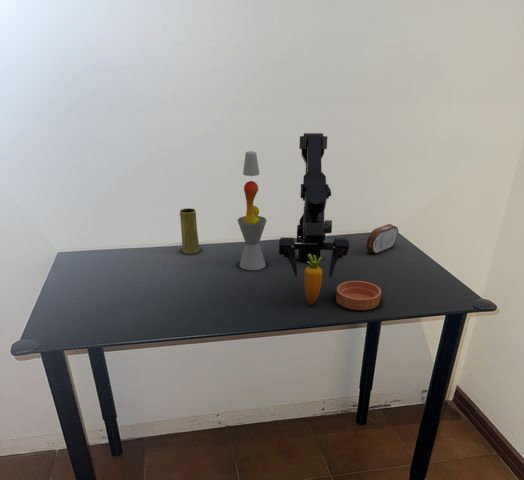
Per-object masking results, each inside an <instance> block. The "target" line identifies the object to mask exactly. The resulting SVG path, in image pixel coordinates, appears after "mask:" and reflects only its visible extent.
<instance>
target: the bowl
mask: <svg viewBox="0 0 524 480" xmlns="http://www.w3.org/2000/svg"><path fill="white" fill-rule="evenodd" d="M335 289H336V290H335V301H336V303H337V304H338V305H339V306H341V307H343V308H345V309H349V310H354V311H369V310H372V309H376V308H377V307H378V306H379V305H380V303H381V299H382V298H381V297H382V289H381V288H380V286H378V285H376V284H374V283H372V282H369V281H362V280H349V281H348V280H347V281H344V282H341V283H339V284H338V285H337V287H336V288H335Z"/></svg>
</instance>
